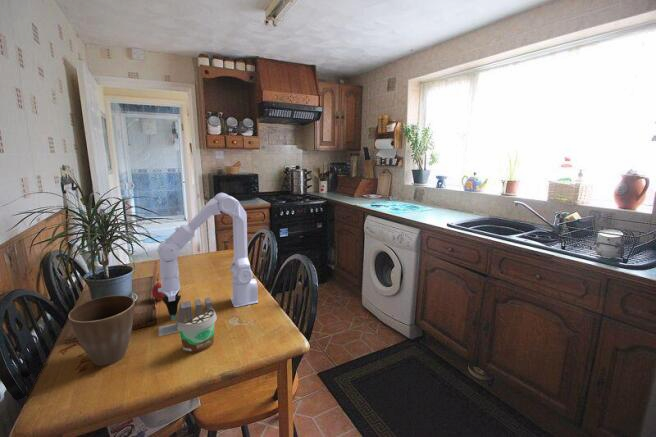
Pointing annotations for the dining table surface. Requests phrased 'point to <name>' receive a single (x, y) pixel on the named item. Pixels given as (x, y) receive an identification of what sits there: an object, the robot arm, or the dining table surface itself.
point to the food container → (198, 332)
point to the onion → (155, 291)
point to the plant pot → (104, 327)
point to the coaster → (168, 329)
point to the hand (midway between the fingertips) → (172, 311)
